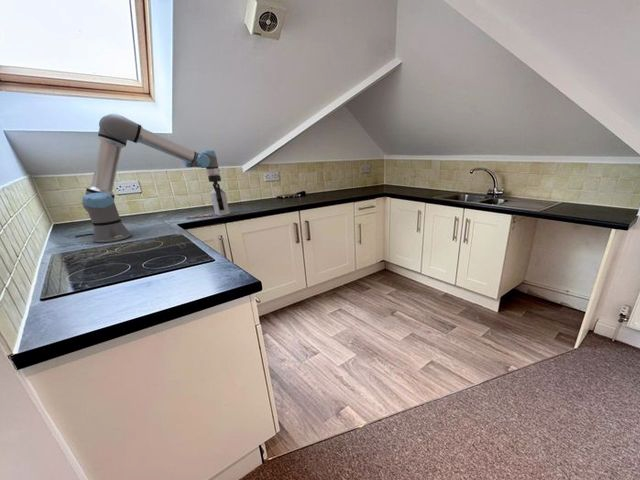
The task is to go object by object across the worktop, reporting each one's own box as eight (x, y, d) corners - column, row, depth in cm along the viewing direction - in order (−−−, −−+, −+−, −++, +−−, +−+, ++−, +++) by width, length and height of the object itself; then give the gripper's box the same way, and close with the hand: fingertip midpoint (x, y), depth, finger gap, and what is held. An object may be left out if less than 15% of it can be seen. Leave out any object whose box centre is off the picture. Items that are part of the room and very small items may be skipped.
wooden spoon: (187, 219, 198) (186, 217, 197) (187, 218, 202) (186, 216, 201) (212, 216, 205) (212, 214, 204) (211, 215, 208) (211, 213, 208)
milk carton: (220, 216, 205) (213, 187, 197) (215, 214, 209) (208, 186, 201) (230, 214, 210) (224, 186, 202) (225, 213, 214) (219, 185, 206)
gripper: (221, 176, 191) (229, 210, 200) (218, 173, 209) (225, 205, 218) (208, 177, 188) (216, 212, 197) (206, 174, 206) (214, 206, 215)
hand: (221, 208), depth 208 cm, fingers open, 10 cm apart
